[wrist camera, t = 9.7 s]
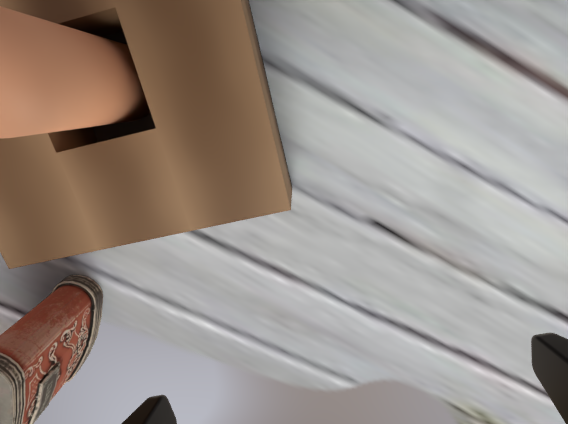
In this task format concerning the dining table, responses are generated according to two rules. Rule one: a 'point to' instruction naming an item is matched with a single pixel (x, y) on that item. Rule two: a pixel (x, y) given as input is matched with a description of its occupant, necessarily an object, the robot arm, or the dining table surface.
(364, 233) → the dining table surface
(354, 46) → the dining table surface
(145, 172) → the bore block
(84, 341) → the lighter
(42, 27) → the peg
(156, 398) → the robot arm
